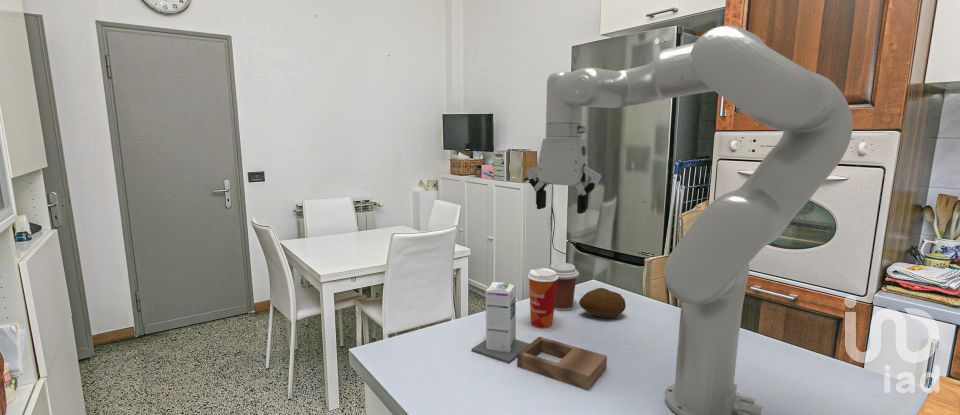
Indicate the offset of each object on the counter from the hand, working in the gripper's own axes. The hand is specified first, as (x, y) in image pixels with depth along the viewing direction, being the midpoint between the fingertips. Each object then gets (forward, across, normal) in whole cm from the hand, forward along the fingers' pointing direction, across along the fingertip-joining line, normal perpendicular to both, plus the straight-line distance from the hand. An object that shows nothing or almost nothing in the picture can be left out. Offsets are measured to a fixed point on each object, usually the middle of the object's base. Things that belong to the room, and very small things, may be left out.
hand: (560, 210), depth 103 cm
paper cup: (+32, +9, -10) cm, 35 cm away
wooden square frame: (+32, -5, +8) cm, 34 cm away
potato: (+33, -2, -24) cm, 41 cm away
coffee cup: (+32, +10, -24) cm, 42 cm away
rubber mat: (+32, +10, +8) cm, 35 cm away
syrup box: (+32, +10, +8) cm, 34 cm away
